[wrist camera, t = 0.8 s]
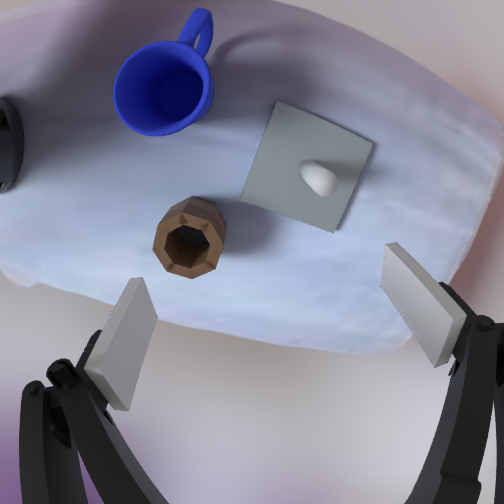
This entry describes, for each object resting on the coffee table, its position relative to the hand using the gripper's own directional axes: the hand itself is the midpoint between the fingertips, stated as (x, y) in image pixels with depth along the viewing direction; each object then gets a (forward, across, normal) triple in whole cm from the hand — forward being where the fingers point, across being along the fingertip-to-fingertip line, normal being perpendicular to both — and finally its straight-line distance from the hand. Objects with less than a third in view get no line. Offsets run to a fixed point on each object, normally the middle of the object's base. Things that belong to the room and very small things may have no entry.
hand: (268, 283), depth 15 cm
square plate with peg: (+20, +7, +2) cm, 21 cm away
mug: (+20, -5, +14) cm, 25 cm away
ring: (+20, -7, -4) cm, 22 cm away
